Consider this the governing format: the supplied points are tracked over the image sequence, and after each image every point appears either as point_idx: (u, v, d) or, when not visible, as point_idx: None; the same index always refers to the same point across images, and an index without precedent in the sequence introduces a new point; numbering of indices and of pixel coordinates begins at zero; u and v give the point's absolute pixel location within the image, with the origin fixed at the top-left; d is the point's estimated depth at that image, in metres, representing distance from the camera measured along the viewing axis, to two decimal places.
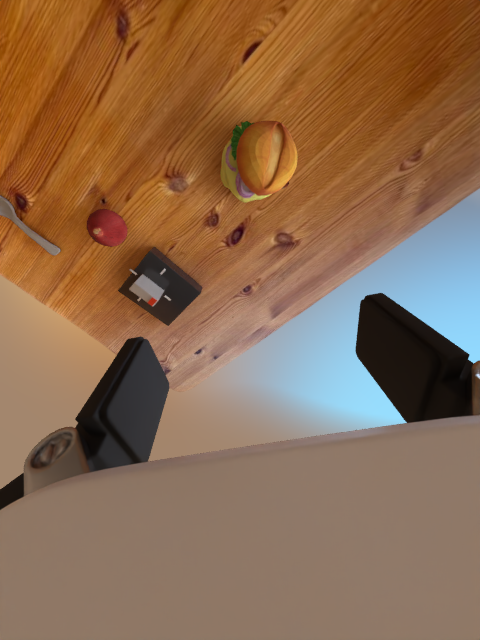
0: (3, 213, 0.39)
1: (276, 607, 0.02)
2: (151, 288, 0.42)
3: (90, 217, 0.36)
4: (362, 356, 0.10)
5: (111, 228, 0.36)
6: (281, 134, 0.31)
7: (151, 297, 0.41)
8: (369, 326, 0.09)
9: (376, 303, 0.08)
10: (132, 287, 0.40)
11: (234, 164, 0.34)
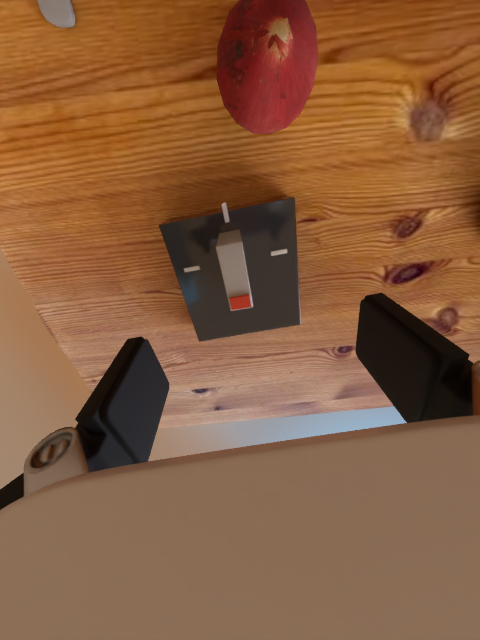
0: None
1: (276, 607, 0.02)
2: None
3: None
4: (362, 356, 0.10)
5: (303, 71, 0.12)
6: None
7: (246, 294, 0.17)
8: (369, 326, 0.09)
9: (376, 303, 0.08)
10: (227, 248, 0.15)
11: None
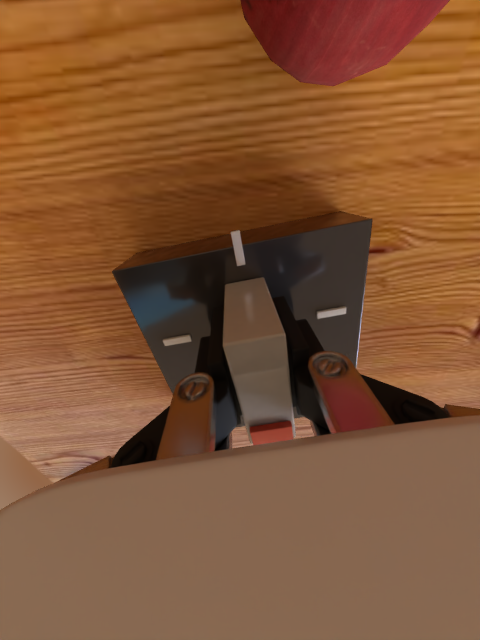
0: None
1: (276, 607, 0.02)
2: None
3: None
4: None
5: None
6: None
7: (284, 420, 0.08)
8: None
9: (274, 304, 0.10)
10: (251, 348, 0.06)
11: None
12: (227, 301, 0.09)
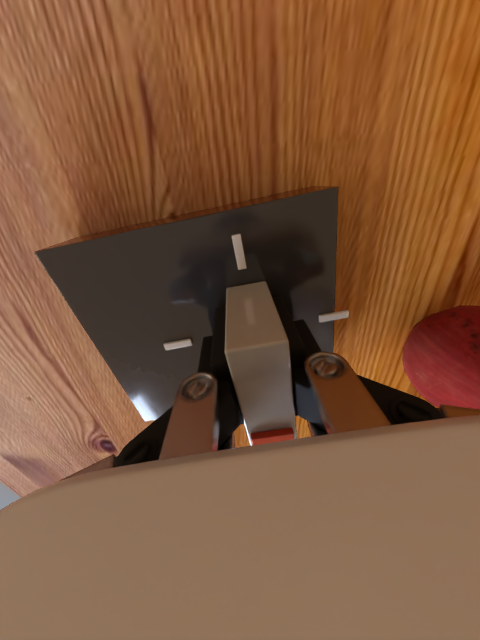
0: None
1: (276, 607, 0.02)
2: None
3: None
4: None
5: None
6: None
7: (286, 427, 0.08)
8: None
9: None
10: (253, 355, 0.06)
11: None
12: (229, 305, 0.08)
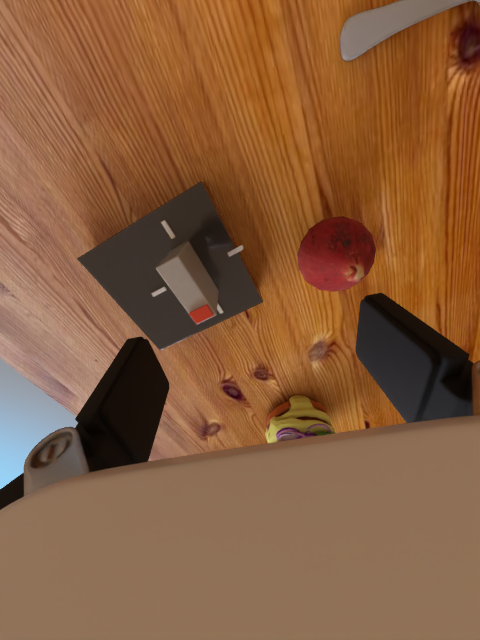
0: None
1: (276, 607, 0.02)
2: (204, 281, 0.17)
3: (374, 254, 0.17)
4: (362, 356, 0.10)
5: (339, 287, 0.18)
6: None
7: (204, 304, 0.16)
8: (369, 326, 0.09)
9: (376, 303, 0.08)
10: (167, 266, 0.15)
11: (312, 428, 0.31)
12: (166, 256, 0.17)
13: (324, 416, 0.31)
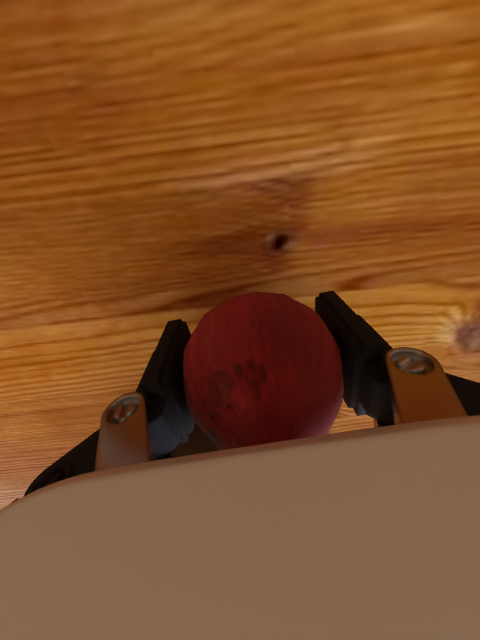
0: None
1: (276, 607, 0.02)
2: None
3: (275, 353, 0.06)
4: None
5: None
6: None
7: None
8: None
9: (326, 300, 0.09)
10: None
11: None
12: None
13: None
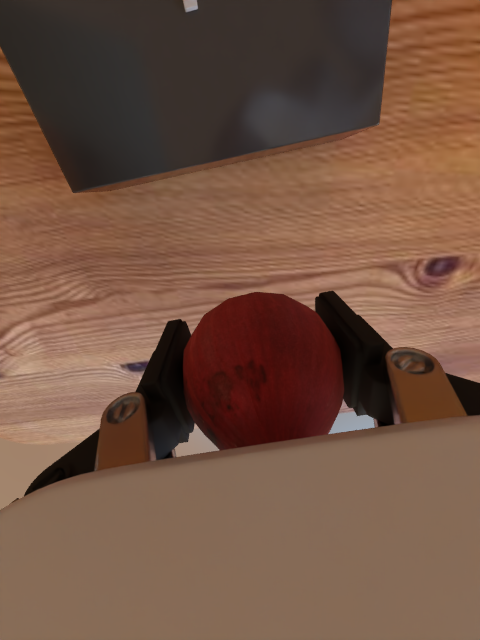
0: None
1: (276, 607, 0.02)
2: None
3: (275, 353, 0.06)
4: None
5: None
6: None
7: None
8: None
9: (325, 300, 0.09)
10: None
11: None
12: None
13: None
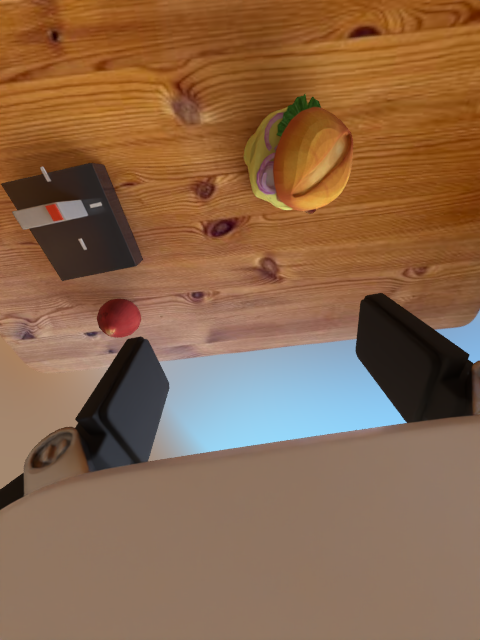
0: None
1: (276, 607, 0.02)
2: None
3: (110, 310, 0.32)
4: (362, 356, 0.10)
5: (126, 330, 0.33)
6: (345, 149, 0.23)
7: (47, 208, 0.23)
8: (369, 326, 0.09)
9: (376, 303, 0.08)
10: (20, 221, 0.24)
11: (272, 141, 0.24)
12: None
13: (268, 118, 0.24)
